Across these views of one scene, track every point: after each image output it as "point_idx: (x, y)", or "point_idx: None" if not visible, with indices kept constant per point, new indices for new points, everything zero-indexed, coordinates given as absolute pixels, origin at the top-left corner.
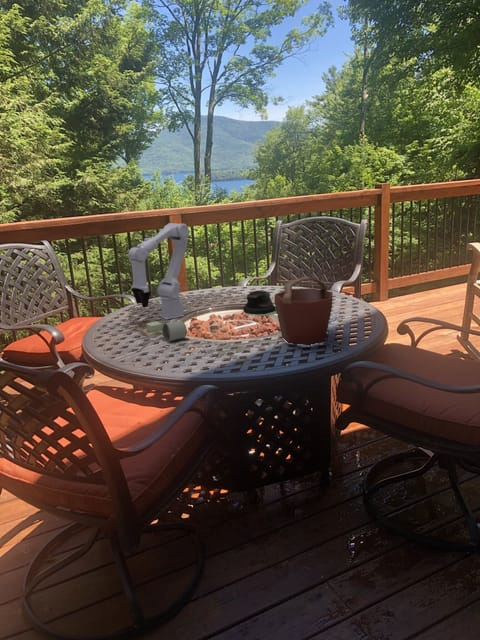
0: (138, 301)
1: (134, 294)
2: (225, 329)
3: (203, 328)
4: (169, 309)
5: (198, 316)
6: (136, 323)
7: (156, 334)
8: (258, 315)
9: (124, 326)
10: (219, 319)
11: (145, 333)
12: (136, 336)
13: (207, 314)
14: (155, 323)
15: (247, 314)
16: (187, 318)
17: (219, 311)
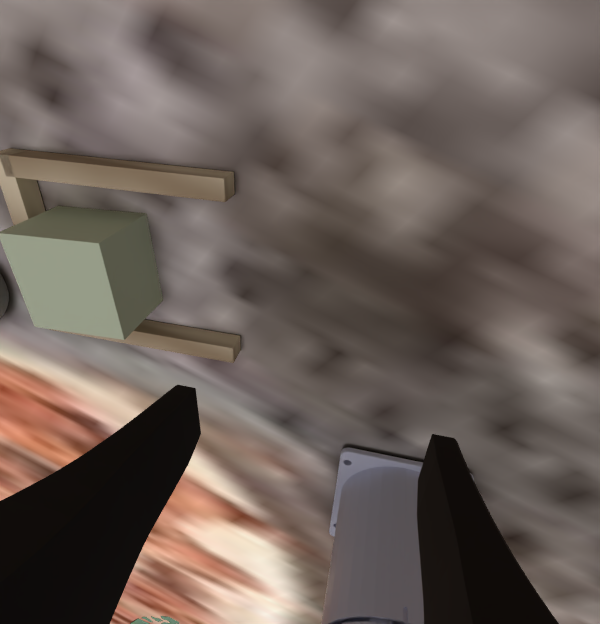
0: (429, 477)
1: (464, 593)
2: (17, 489)
3: (66, 456)
4: (340, 537)
5: (277, 552)
6: (456, 264)
7: None
8: (139, 622)
9: (468, 116)
10: (168, 556)
11: (28, 156)
12: (62, 73)
13: (279, 582)
14: (65, 299)
15: (174, 620)
16: (282, 514)
17: (287, 620)
